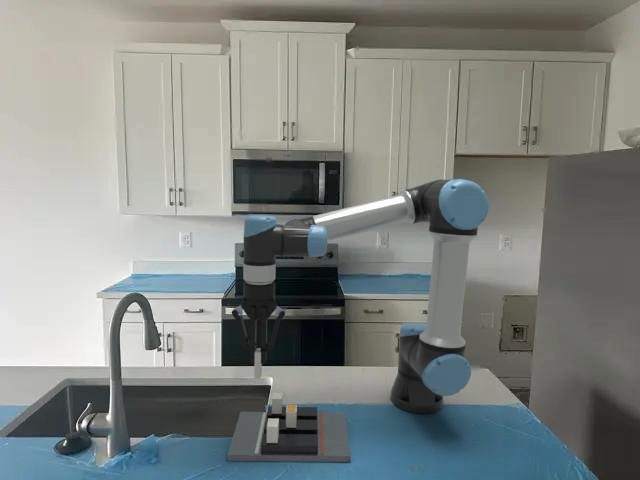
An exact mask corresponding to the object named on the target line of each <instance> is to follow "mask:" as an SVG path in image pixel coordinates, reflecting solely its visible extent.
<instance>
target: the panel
mask: <svg viewBox="0 0 640 480" xmlns="http://www.w3.org/2000/svg"><path fill="white" fill-rule="evenodd" d="M286 408H287V406H282V414H272V405H271V406H268V408H267V411H240V412H239V415H238V416H239V417H238V420H237V423H236V425H235V426H236V427H235V429H234V433H233V435H232V438H231V442H230V445H229V449H228V451H227V454H226V455H227V458H226V461H227V462H283V463H284V462H287V463H288V462H291V463H292V462H294V463H296V462H299V463H304V462H305V463H306V462H307V463H308V462H309V463H351V459H352V455H351V446H350V439H349V435H348V434H349V433H348V427H347V425H348V424H347V418H346V413H345V412H318V407H317V406H297V422H296V428H286ZM268 418H270V419H279V437H278V443H267V423H268Z"/></svg>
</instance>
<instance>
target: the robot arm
mask: <svg viewBox="0 0 640 480" xmlns="http://www.w3.org/2000/svg"><path fill="white" fill-rule="evenodd" d="M489 203H490V202H489V198H488V196H487V194H486V192H485V190H484V189H483V188H482V187H481V185H479V184H478V183H476V182H475V181H471V180H467V179H461V178H458V179H457V178H455V179H436V180H433V181H429V182H425V183H423V184H421V185H418V186H417V185H416V186H414V187H412V188H410V187H409V188H407V189H402V190H401V192H400V194H398V195H395V196H394V195H393V196H390V197H386V198H383V199H378V200H374V201H373V200H372V201H370V202H365V203H361V204H357V205H353V206H348V207H345V208H339V209H336V210H333V211H328V212H324V213H319V214H317V215H312V216H308V217H304V218H300V219H299V218H294V219H290V220H287V222H285V223H284V224H279V223H278V222H277V218H276V216H273V215H250V216H249V215H248V216H247V217H246V218H245V219H244V225H243V267H242V269H243V275H242V276H243V277H242V278H243V280H244V282H243V285H242V288H243V289H242V291H243V292H242V301H241V303H240V305H239V306H237V307H234V308H233V309H232V311H231V314H232V316H233V318H234V320H235V323H236V327H237V330H238V335H239V339H240V342H241V347H242V349H244V350H248V351H249V363H250V365H253V366H254V367H253V368H254V371H253V372H254V379H260V380H261V378H262V374H263V371H262V370H263V365H266V363H267V351H271V350H273V349H274V347H275V343H276V340H277V336H278V332H279V328H280V326H281V325H280V324H281V321H282V320H283V318H284V317H285V315H286V309H285V308H281V307H280V306H279V305H278V303H277V300H276V282H275V280H276V271H277V270H276V268H277V267H276V265H277V264H276V262H277V260H276V258H277V257H295V258H296V257H300V258H301V257H302V258H305V257H306V258H314V257H316V258H317V257H324V256H325V254H326V253H327V250H328V249H327V248H328V242H329V241H333V240H334V241H335V240H338V239H341V238H346V237H350V236H353V235H358V234H362V233H366V232H370V231H374V230H378V229H382V228H385V227H390V226H395V225H398V224H404V223H407V224H408V225H413V224H417V223H429V225H428V226H429V227H428V233H429V235H431V236H432V238H433V250H432V261H431V269H430V271H431V272H430V282H429V293H428V306H427V315H426V316H427V317H426V323H422V322H417V323H416V322H413V323H412V322H411V323H406V324H403V325H401V327H400V329H399V333H398V356H397V357H398V359H397V373H396V377H395V379H394V381H393V384H392V387H391V390H390V401H391V403H392V404H393V405H394V406H395V407H397V408H399V409H401V410H403V411H406V412H409V413H413V414H433V413H437V412H438V411H440V410H441V409H442V408H443V406H444V397H448V396H453V395H456V394H458V393H460V391H461V390H463V389H465V388H466V386H468V384H469V382H470V380H471V376H472V368H471V365H470V362H469V361H468V359H467V358H466V357H465V354H466V353H465V352H466V344H467V343H466V340H465V338H464V337H463V336H462V335H461V330H462V321H463V311H464V301H465V293H466V280H467V270H468V264H469V263H468V262H469V261H468V260H469V253H470V243H471V242H472V241H473V240H474V239H475V238H477V237H478V230H479V229H478V228H479V226H481V225H482V223H483V222H484V221H486V219H487V217H488V214H489V209H490V204H489ZM274 312H275V314H274V315H275V317H276V318H275V320H274V321H275V322H274V326H273V329H272V332H271V337H270V340H269V342H268V319H269V318H270V317H271V316H272V314H273V313H274ZM243 313H245V314H246V316H247V317H248V318H249V327H250V328H249V337H248V333H247V329H246V324H245V321H244V317H243ZM259 320H260V348H257V327H258V325H257V321H259Z"/></svg>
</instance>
